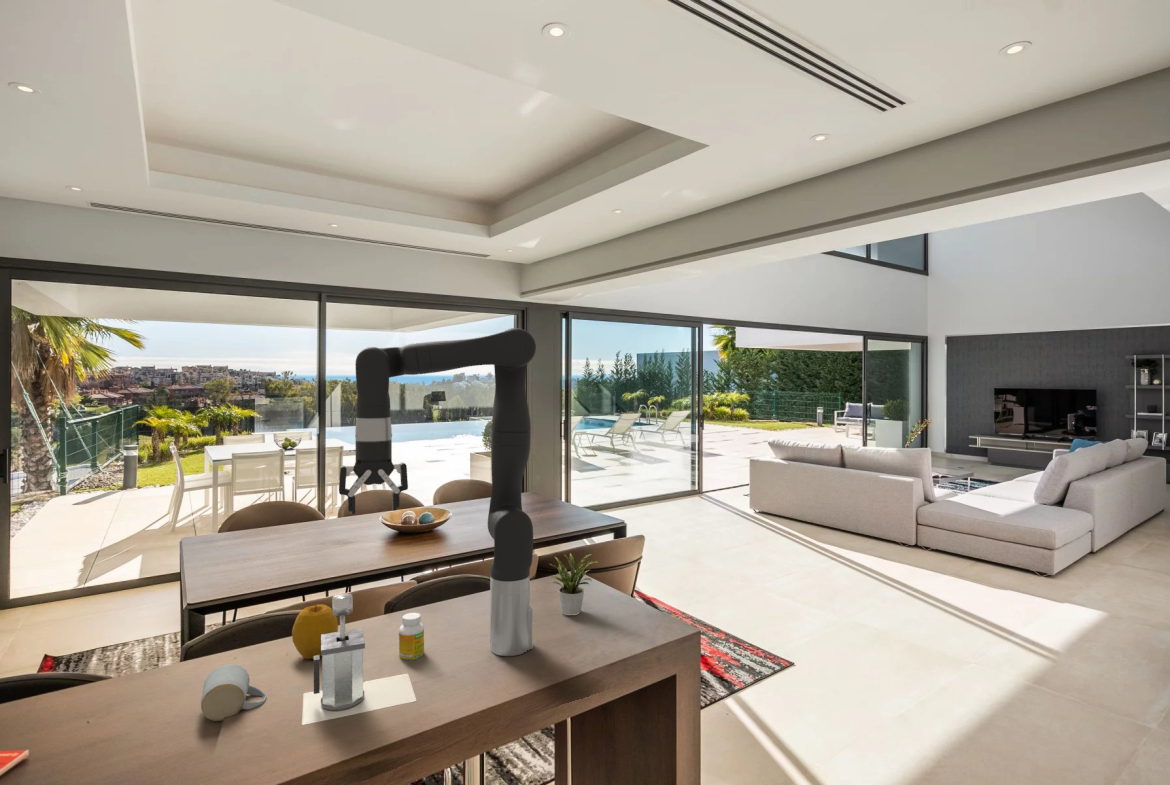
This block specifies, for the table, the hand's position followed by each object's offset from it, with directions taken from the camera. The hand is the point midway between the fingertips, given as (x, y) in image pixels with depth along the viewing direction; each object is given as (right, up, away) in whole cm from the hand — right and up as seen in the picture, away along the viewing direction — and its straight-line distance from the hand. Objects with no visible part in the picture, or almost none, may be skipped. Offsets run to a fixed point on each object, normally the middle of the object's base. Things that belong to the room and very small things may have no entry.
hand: (373, 511), depth 131 cm
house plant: (+44, -34, +31) cm, 64 cm away
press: (0, -33, -16) cm, 37 cm away
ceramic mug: (-21, -35, -18) cm, 44 cm away
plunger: (0, -27, -16) cm, 32 cm away
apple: (-15, -34, +5) cm, 38 cm away
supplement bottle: (+7, -34, +4) cm, 35 cm away
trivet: (+2, -34, -15) cm, 37 cm away
